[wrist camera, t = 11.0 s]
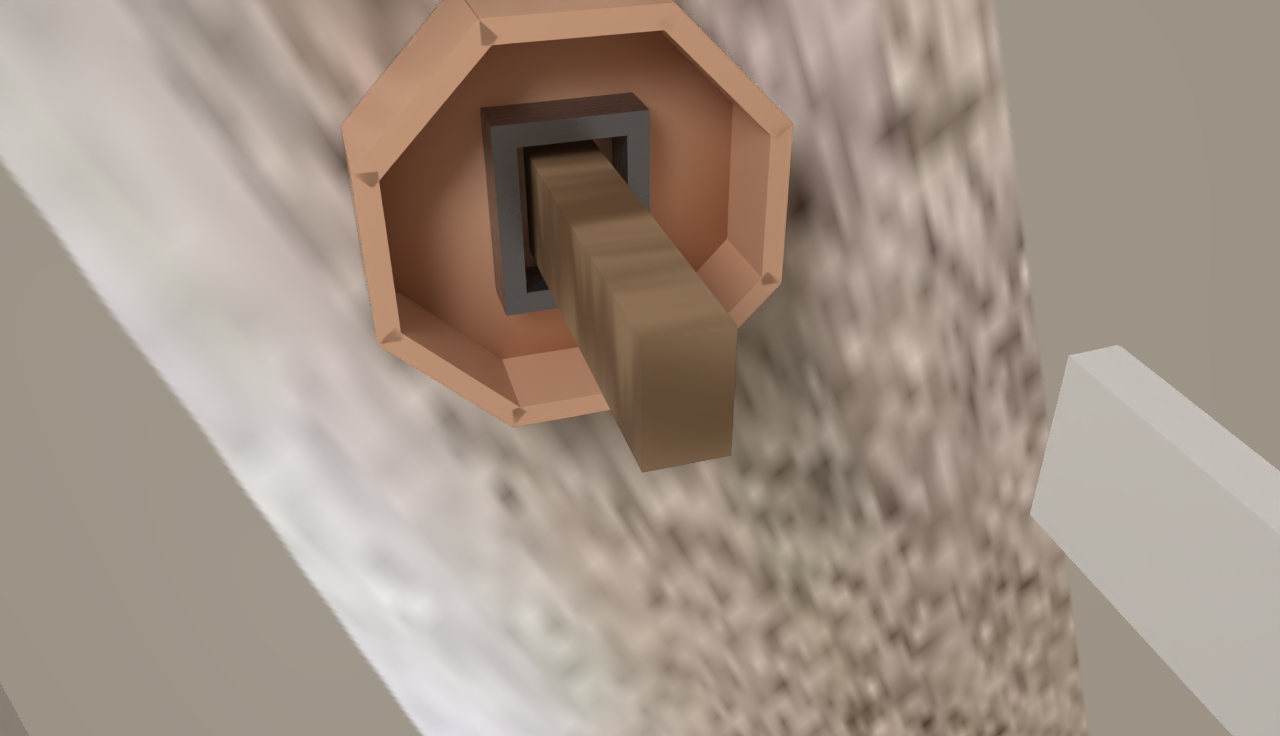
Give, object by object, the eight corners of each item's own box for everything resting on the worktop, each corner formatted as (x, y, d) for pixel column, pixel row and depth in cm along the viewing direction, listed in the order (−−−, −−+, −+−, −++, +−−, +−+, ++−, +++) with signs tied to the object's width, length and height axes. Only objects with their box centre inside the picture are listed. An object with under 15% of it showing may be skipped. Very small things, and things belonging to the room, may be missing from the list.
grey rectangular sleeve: (479, 107, 36) (490, 126, 34) (632, 92, 37) (649, 109, 36) (495, 290, 40) (506, 315, 38) (634, 270, 41) (649, 294, 39)
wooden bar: (522, 146, 37) (641, 341, 26) (592, 139, 38) (737, 325, 26) (529, 250, 39) (642, 472, 28) (594, 241, 40) (730, 455, 28)
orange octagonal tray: (319, -5, 34) (327, 30, 30) (748, -36, 37) (802, -8, 34) (381, 382, 41) (394, 448, 38) (732, 325, 45) (774, 380, 41)
